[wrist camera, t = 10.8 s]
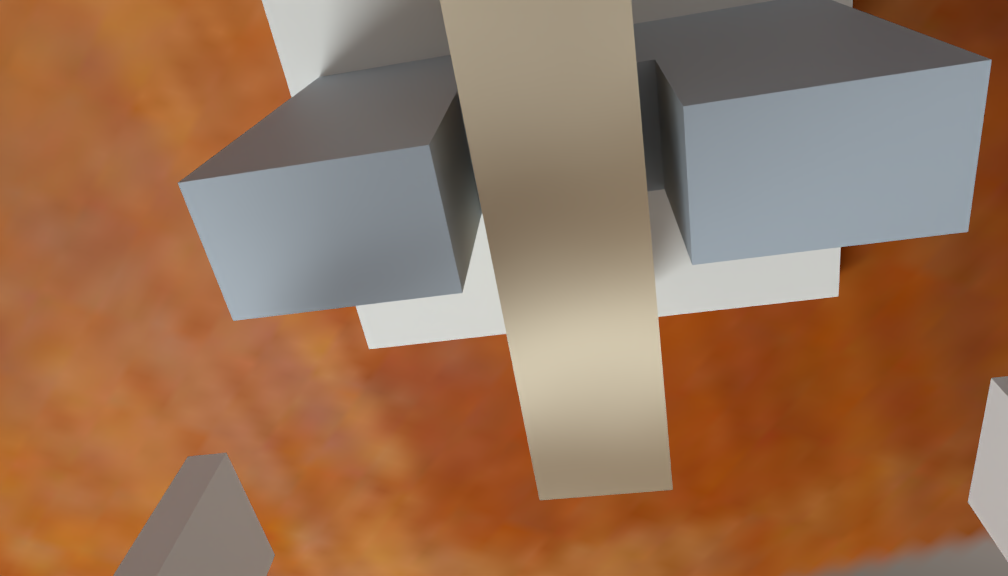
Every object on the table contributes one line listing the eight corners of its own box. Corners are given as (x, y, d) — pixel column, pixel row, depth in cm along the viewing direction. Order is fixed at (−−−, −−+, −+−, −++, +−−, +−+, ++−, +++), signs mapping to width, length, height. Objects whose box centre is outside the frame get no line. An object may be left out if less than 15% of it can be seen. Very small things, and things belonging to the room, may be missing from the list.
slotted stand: (224, -170, 19) (-54, -226, 11) (852, -310, 17) (1164, -530, 8) (375, 334, 27) (285, 548, 18) (828, 282, 24) (979, 497, 16)
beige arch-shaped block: (465, -178, 18) (392, -237, 10) (585, -204, 18) (607, -286, 10) (545, 305, 24) (539, 500, 17) (634, 295, 24) (672, 489, 16)
